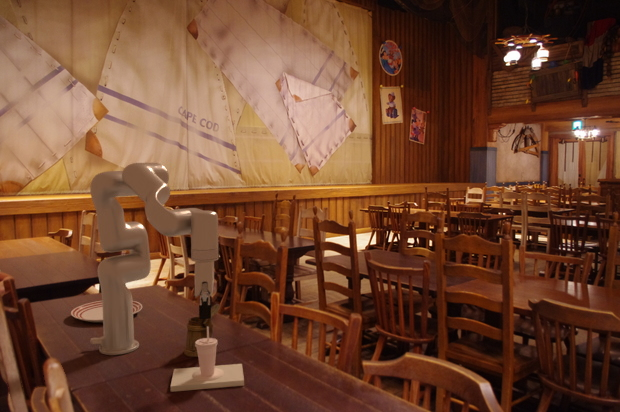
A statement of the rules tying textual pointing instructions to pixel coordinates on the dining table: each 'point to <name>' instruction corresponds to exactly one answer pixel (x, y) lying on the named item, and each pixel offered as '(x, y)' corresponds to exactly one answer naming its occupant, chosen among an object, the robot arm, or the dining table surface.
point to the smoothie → (206, 354)
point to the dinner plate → (96, 311)
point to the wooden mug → (198, 331)
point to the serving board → (207, 378)
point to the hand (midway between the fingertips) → (205, 313)
